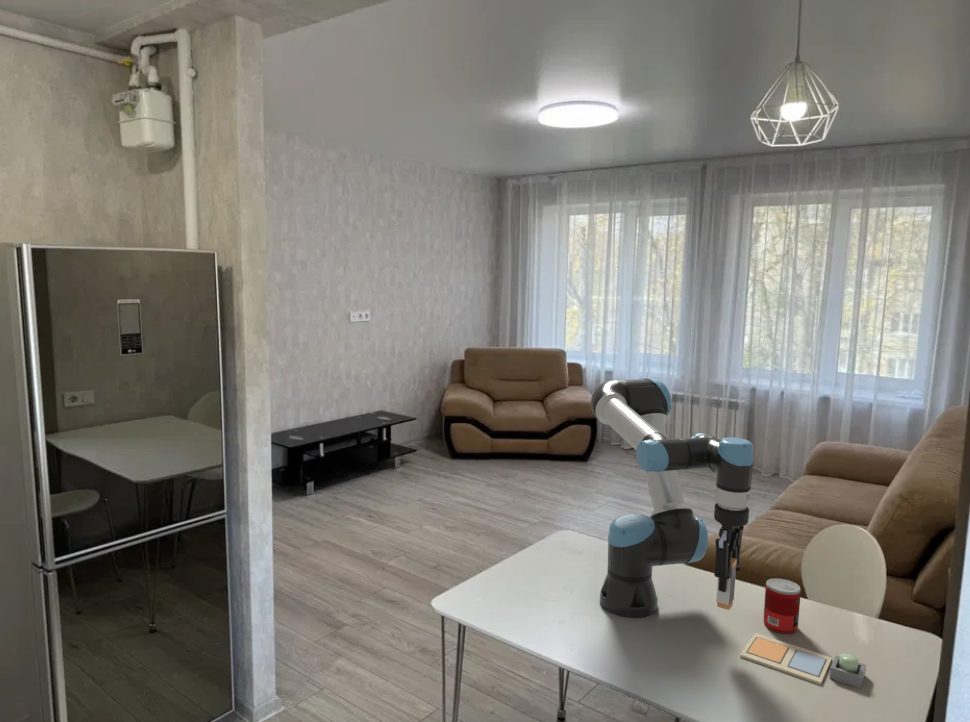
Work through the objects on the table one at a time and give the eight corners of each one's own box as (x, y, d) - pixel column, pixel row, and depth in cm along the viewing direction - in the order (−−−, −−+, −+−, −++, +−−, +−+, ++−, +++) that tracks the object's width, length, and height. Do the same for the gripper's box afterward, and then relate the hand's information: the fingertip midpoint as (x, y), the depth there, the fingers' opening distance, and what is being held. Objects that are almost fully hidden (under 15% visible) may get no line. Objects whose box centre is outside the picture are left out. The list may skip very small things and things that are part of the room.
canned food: (801, 636, 162) (804, 593, 160) (766, 632, 164) (769, 590, 162) (793, 620, 169) (796, 579, 168) (760, 616, 171) (763, 576, 170)
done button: (837, 670, 145) (838, 658, 145) (840, 662, 148) (841, 651, 147) (855, 676, 143) (856, 664, 142) (858, 668, 146) (859, 657, 145)
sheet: (740, 656, 153) (740, 654, 153) (755, 635, 162) (755, 632, 162) (820, 685, 142) (821, 681, 142) (831, 659, 152) (831, 657, 152)
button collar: (829, 678, 145) (830, 667, 145) (834, 665, 150) (835, 655, 149) (860, 688, 141) (861, 677, 141) (864, 675, 146) (865, 664, 146)
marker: (716, 606, 156) (719, 559, 154) (720, 601, 158) (723, 555, 157) (729, 610, 154) (732, 563, 152) (733, 605, 156) (736, 558, 155)
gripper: (737, 519, 144) (730, 619, 147) (758, 499, 156) (751, 591, 160) (703, 511, 148) (697, 608, 152) (726, 492, 161) (720, 582, 164)
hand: (725, 599), depth 156 cm, fingers closed on marker, 3 cm apart
